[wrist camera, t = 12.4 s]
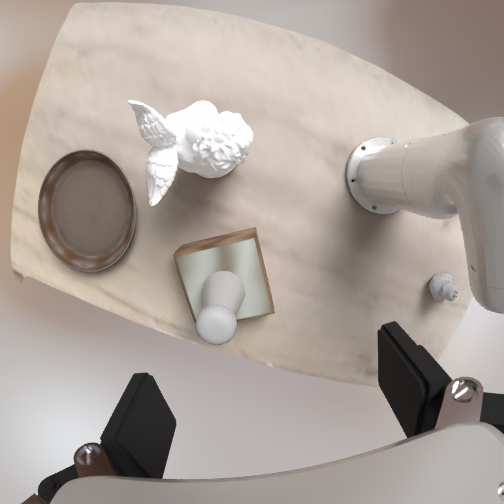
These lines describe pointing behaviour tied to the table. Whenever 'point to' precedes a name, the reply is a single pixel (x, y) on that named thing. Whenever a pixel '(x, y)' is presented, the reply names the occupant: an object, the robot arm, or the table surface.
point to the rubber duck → (443, 287)
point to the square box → (226, 259)
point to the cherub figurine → (191, 143)
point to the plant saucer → (87, 210)
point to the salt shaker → (220, 307)
